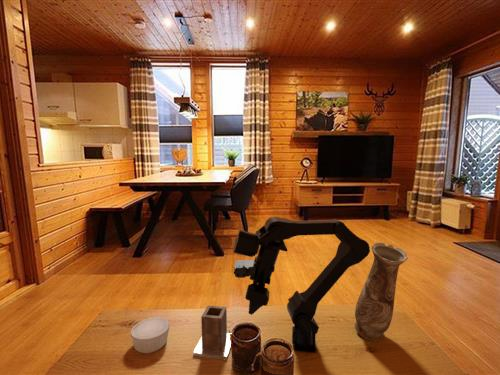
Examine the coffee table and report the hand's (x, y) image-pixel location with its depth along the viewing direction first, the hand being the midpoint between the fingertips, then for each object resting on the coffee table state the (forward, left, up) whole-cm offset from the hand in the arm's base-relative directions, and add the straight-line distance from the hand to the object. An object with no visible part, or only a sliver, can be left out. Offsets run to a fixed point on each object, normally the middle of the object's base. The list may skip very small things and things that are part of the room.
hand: (251, 303), depth 80 cm
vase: (-37, -10, -12) cm, 40 cm away
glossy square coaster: (+11, +4, -12) cm, 17 cm away
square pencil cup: (+11, +4, -11) cm, 16 cm away
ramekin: (+31, +6, -13) cm, 34 cm away
